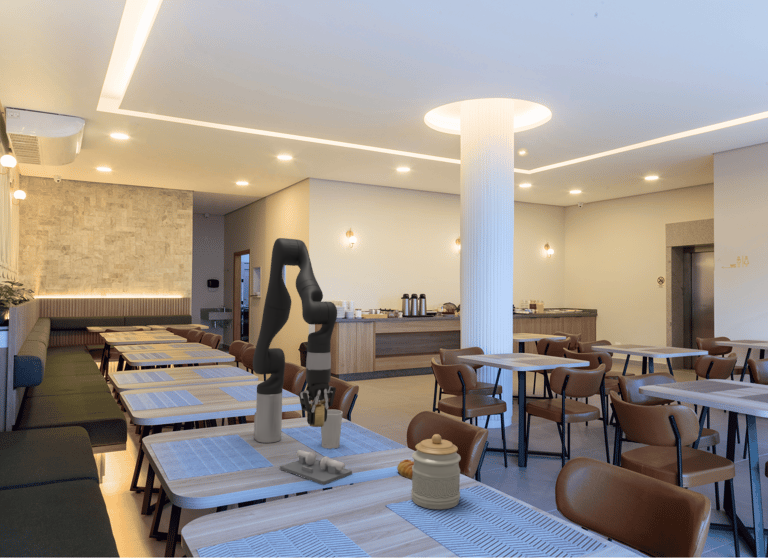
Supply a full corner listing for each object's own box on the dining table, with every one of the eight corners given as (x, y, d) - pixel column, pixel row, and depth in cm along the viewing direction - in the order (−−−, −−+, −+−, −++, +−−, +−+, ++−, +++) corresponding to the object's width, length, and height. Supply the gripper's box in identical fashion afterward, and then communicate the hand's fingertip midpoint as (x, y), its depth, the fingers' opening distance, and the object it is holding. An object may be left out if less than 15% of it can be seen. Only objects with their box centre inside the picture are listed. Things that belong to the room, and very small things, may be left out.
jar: (403, 495, 147) (404, 430, 147) (444, 488, 152) (445, 426, 152) (425, 513, 135) (426, 443, 135) (469, 506, 140) (470, 438, 140)
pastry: (429, 479, 160) (429, 466, 160) (410, 482, 157) (410, 469, 157) (412, 469, 168) (413, 457, 168) (394, 472, 165) (394, 460, 165)
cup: (343, 443, 194) (344, 410, 194) (339, 449, 186) (340, 415, 186) (321, 442, 195) (322, 409, 195) (317, 448, 187) (317, 414, 187)
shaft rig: (279, 469, 165) (280, 452, 165) (308, 460, 174) (309, 444, 174) (323, 484, 153) (324, 467, 153) (352, 474, 162) (352, 457, 162)
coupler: (306, 425, 163) (307, 403, 164) (317, 422, 167) (317, 401, 167) (316, 427, 161) (317, 405, 161) (327, 425, 164) (327, 403, 164)
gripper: (326, 363, 172) (325, 416, 172) (292, 367, 161) (290, 425, 161) (343, 365, 167) (342, 420, 167) (309, 370, 156) (308, 429, 156)
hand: (317, 422), depth 164 cm, fingers closed on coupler, 4 cm apart
